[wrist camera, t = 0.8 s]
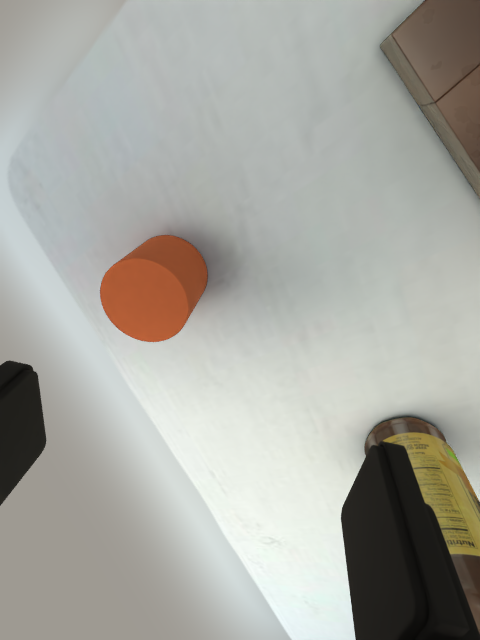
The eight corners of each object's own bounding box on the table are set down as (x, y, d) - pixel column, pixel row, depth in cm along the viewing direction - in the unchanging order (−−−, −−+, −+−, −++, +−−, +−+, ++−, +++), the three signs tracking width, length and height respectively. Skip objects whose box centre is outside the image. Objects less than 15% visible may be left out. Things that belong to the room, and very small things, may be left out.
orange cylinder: (119, 268, 25) (82, 297, 21) (167, 218, 23) (137, 238, 19) (173, 320, 27) (149, 357, 22) (223, 276, 25) (207, 308, 20)
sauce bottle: (434, 474, 30) (628, 952, 13) (356, 465, 31) (437, 906, 13) (456, 414, 27) (750, 931, 10) (369, 406, 28) (495, 872, 10)
